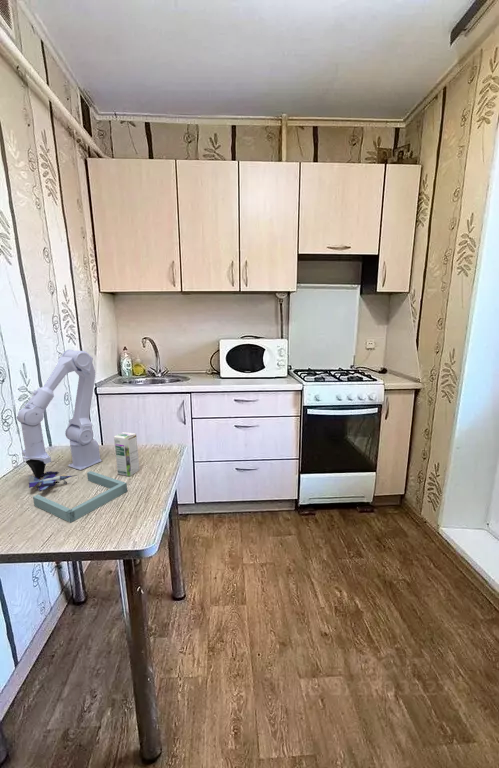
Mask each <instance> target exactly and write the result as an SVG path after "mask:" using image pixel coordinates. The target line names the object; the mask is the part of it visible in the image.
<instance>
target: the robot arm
mask: <svg viewBox="0 0 499 768" xmlns="http://www.w3.org/2000/svg"><path fill="white" fill-rule="evenodd" d="M93 359H94V358H93V357H92V356H91V355H90V353H89V352H87V351H85V350H74V349H66V350H64V352H63V353H62V354H61V356H60V357H59V358H58V360H57V362H56V363H57V364H55V366H54V368H53V370H52V372H51V374H50V375H49V377H48V379H47V380H46V382H45V384H44V385H43V386H40V387H38V388H37V389H36V390H35V389H34V390H33V391H32V396H31V397H30V399H29V400H28V402H27V403H25V404H24V405H23V406H24V407H23V408H21V409H19V411H18V412H17V416H16V417H15V418H16V420H17V422H18V423H20V425H21V432H22V438H23V444H24V449H23V450H22V451H21V453H22V459H23V460H25V463H26V465H27V466H28V467H29V468H30V470H31V472H32V473H33V476H34V477H35V478H37V477H38V479H39V480H42V479H44V477H42V476H41V475H42V474H44V473H45V469H46V466H47V464H49V463H51V462H52V459H51V456H50V455H49V453H47V451H46V447H45V442H44V441H45V440H44V436H43V434H44V433H43V429H42V424H41V422H42V421H43V420H44V413H45V411H46V409H47V407H48V406H49V405H50V403H51V402H52V400H53V398H54V397H55V395H54V391H55V390H56V389H57V387H58V386H59V384H60V383H61V382H62V380H64V378H65V377H66V375H67V374H69V373H72V372H75V373H76V375H78V384H77V390H76V396H75V403H74V410H73V417H72V418H70V420H69V421H68V426H67V427H66V429H65V432H64V434H65V435H64V436H65V437H66V439H68V440H69V444H70V454H71V460H72V463H69V464H68V465H67V467H69V468H72V469H76V470H78V471H82V470H84V469H87V468H89V467H91V466H94V465H96V464H98V463H99V464H100V462H102V461H103V460H102V459H101V455H100V445H99V443H98V441H97V440H96V439H94V430H93V423H92V421H91V420H90V415H91V407H92V400H93V392H94V388H95V387H94V386H95V379H96V370H95V367H94V364H93V361H94V360H93Z"/></svg>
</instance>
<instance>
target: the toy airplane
mask: <svg viewBox="0 0 499 768" xmlns="http://www.w3.org/2000/svg"><path fill="white" fill-rule="evenodd" d="M59 474H60V472H58V471H52V470H50V471H46V472H44V474H42V475H41V476H42V477H43V478H42V479H38V477H37V478H35V476H34V475H29V476H28V484H29V485H28V488H29V489H30V488H34V487H35V486H36V488H37V491H38V492H42V491H46V490H47V489H48V488H52V487H55V486H56V485H57V484H59V483H60V482H61V481H63V485H67V484H68V481H66V479H69V478H71V477H76V476H78V474H76V475H68V474H61V475H59ZM57 475H58V476H57ZM38 484H39V485H38Z"/></svg>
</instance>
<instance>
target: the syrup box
mask: <svg viewBox="0 0 499 768" xmlns="http://www.w3.org/2000/svg"><path fill="white" fill-rule="evenodd" d="M137 437H138V436H137V433H133V432H126V431H123V432H120V433H118V434H116V435H115V436H113V441H114V450H115V452H114V453H115V459H116V469H117V470H116V471H117V472H116V473H117V475H120V476H127V477H131V476H133V475H134V474H135V473H137V472H138V471H140V469H141V468H140V461H139V460H140V459H139V449H138V438H137Z"/></svg>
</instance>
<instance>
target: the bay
mask: <svg viewBox="0 0 499 768" xmlns="http://www.w3.org/2000/svg"><path fill="white" fill-rule="evenodd" d="M86 476H87V477H86V478H87V481H88V482H91V483H94V484H97V485H99V486H102V487H105V488H108V489H107V490H105V491H103V492H101V493H99V494H97V495H96V496H94V497H92V498H89V499H88V500H86V501H84V502H81V503H80V504H78V505H76V506H74V507H72V508H69V507H68V506H64V505H62V504H61V503H58V502H56V501H53V500H52V499H50V498H49V499H48V498H47V497H44V496H42V495H41V494H40V495H39V494H36V495H34V496H32V499H33V500H32V501H33V505H34V507H36V508H39V509H41V510H43V511H45V512H46V513H49V514H51V515H53V516H56V517H57V518H60V519H62V520H64V521H66V522H67V523H68V522H69V523H72V522H75V521H76V520H79V519H80V518H81V517H84V516H86V515H87V514H89V513H91V512H93V511H95V510H96V509H98V508H100V507H102V506H104V505H105V504H107V503H109V502H111V501H113V500H114V499H116V498H118V497H120V496H122V495H123V494H125V493H127V492H128V484H127V482H125V481H121V480H119V479H116V478H113V477H110V476H107V475H104V474H101V473H98V472H95V471H92V470H90V471H87V472H86Z"/></svg>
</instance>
